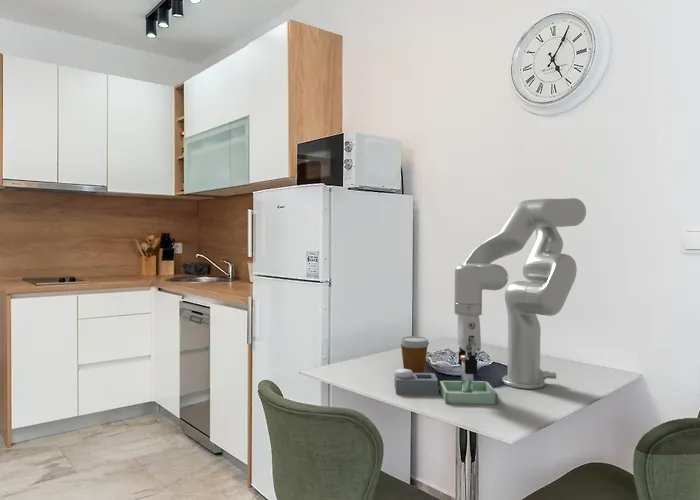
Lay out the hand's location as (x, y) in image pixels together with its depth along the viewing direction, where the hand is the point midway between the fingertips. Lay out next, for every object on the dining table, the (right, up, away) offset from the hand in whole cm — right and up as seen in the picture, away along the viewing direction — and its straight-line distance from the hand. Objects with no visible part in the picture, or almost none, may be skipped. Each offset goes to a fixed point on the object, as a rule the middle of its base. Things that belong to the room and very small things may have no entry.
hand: (467, 369), depth 145 cm
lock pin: (0, -7, 0) cm, 7 cm away
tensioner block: (-14, -8, +7) cm, 17 cm away
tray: (0, -8, 0) cm, 8 cm away
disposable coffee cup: (-12, -7, +23) cm, 27 cm away
